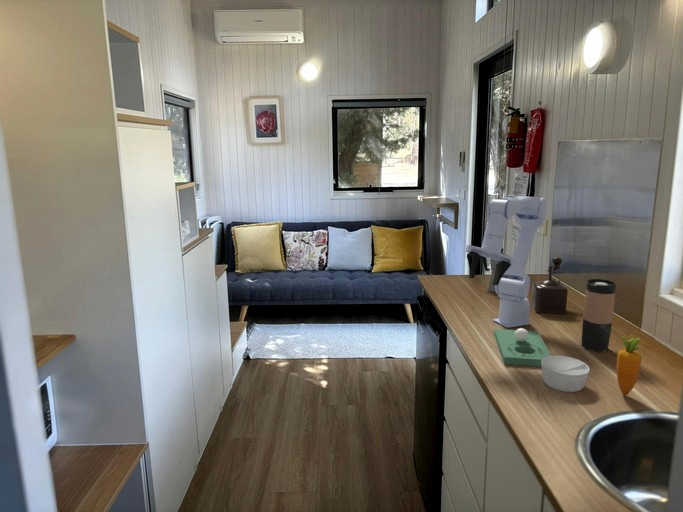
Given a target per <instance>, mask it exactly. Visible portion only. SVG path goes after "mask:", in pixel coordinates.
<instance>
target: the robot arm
mask: <svg viewBox="0 0 683 512" xmlns="http://www.w3.org/2000/svg"><path fill="white" fill-rule="evenodd" d="M486 210H487V211H486V222H487V223H486V226H485V231H484V235H483V238H482V243H481V247H479V246H474V245H472V244H469V245H466V247H465V252H466V259H467V262H468V263H467V264H468V271H469V272H468V273H469V274H468V276H469V277H468V278H469V279H474V278H475V276H476V272H477V267H478V264H479V261H480V259H481V258H482V256H483V257H486V259H489V260H490V259H493V260H497V261H500V262H499V263H498V264H496V270H495V276H494V280H493V285H495V291H496V293H495V294H496V295H497V296H498V298H499V309H498V310H499V311H498V318H493V319H492V321H494V323H498V324H499V325H501V326H503V327H506V328H509V329H510V328H515V327H522V326H527V325H531V322H530V313H531V312H530V311H531V304H530V300H529V299H528V295H529V293H530V285H531V278H530V276H529V275H528V274H527V273H526V272H525V270H526V267H527V262H528V260H529V257H530V253H531V249H532V247H533V243H534V239H535V236H536V233H537V231H538V228H539V227H540V226H542V225H544V222H545V219H546V216H547V213H548V200H547V199H546V198H545V197H537V196H525V195H524V196H523V195H522V196H520V195H519V196H515V195H514V194H508V195H507V197H506V196H503V197H501V198H500V199H498V198H497V199H496V198H494V199H492V200H490V201H489V202H488V204H487V209H486ZM513 217H514V218H515V222H516V223H518V224H519V225H520V226H521V228H520V231H519V236H518V238H517V241H516V245H515V248H514V251H513V254H512V255H513V258H511V257H509V256H506V255H504V254H501V249H502V248H503V244H504V240H505V234H506V230H507V228H508V223H509V220H512V218H513Z"/></svg>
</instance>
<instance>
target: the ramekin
mask: <svg viewBox="0 0 683 512" xmlns="http://www.w3.org/2000/svg"><path fill="white" fill-rule="evenodd" d="M540 367H541V372H542V380H543V382H544V383H545V384H546V386H548V387H549V388H551V389H553V390H557V391H560V392H561V391H562V392H564V393H565V392H567V393H574V392H575V393H576V392H580V391H581V390H583V388H584V387H585V385H586V384H587V380H588V377H589V375H590V372H591V370H590V366H589V365H587V363H585V362H583V361H582V360H579V359H577V358H574V357H571V356H565V355H552V356H548V357H545V358H543V359H542V360H541V366H540Z"/></svg>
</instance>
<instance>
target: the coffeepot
mask: <svg viewBox="0 0 683 512" xmlns="http://www.w3.org/2000/svg"><path fill="white" fill-rule="evenodd" d="M501 254H504V255H506V256H509V257H511V258H513V254H509V253H506V252H504V248H503V247H502V249H501ZM481 260H482V264H483V268H484V270H485V271H486V272H490V271H491V275H490V279H489V283H488V288H487V290H488V291H489V292H491V293H495V294H497V293H496V291H495V285H493V280H494V276H495V270H496V264H498V263H499V262H500V261H497V260H493V259H490V258H489V261H490V268H488V262H487V257H483V256H481Z"/></svg>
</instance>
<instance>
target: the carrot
mask: <svg viewBox="0 0 683 512" xmlns="http://www.w3.org/2000/svg"><path fill="white" fill-rule="evenodd" d="M621 339H622V341H623V344H624V346H625V348H624V349H620V350H618V352H617V356H616V368H615V369H616V379H617V383H618V384H617V385H618V387H619V389H620V393H621V394H622V395H623V396H624V395H626V396H627V395H629V393H631V392H632V390H633V388H634V387H635V385H636V383H637V380H638V378H639V375H640V370H641V365H642V356H641V354H640V353H639V351H637V350H638V349H640V348H641V346H639V345H638V344H639V343H640V342H641V339H640V338H639V337H636V338H635V337H632V338H630V339H629V340H628V341H627V339H626V336H624V335H622V336H621Z"/></svg>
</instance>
